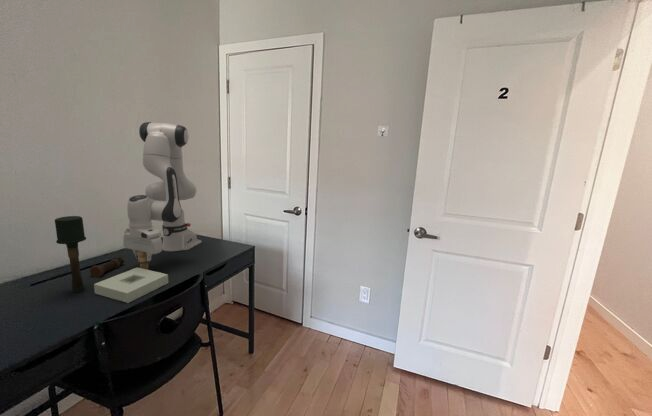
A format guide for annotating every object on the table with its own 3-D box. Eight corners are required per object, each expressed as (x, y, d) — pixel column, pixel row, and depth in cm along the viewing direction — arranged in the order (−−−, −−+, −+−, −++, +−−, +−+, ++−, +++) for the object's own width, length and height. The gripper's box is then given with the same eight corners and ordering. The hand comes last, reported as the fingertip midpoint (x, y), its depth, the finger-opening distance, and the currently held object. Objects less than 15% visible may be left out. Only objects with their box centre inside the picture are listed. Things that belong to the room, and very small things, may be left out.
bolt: (123, 268, 139) (97, 280, 124) (115, 262, 139) (87, 274, 124) (128, 258, 138) (102, 270, 123) (120, 253, 138) (93, 263, 123)
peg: (145, 269, 134) (143, 247, 132) (152, 270, 133) (150, 248, 130) (136, 272, 130) (134, 250, 128) (143, 274, 129) (141, 251, 126)
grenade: (84, 283, 117) (75, 214, 112) (97, 288, 114) (88, 217, 108) (59, 292, 110) (48, 218, 104) (71, 298, 107) (61, 221, 101)
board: (138, 275, 127) (137, 267, 126) (168, 283, 122) (167, 274, 121) (94, 293, 110) (93, 283, 110) (128, 303, 105) (127, 293, 104)
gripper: (117, 229, 128) (120, 258, 130) (151, 235, 121) (153, 265, 124) (131, 226, 134) (133, 253, 136) (163, 232, 127) (165, 260, 130)
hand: (143, 259), depth 130 cm, fingers open, 5 cm apart
